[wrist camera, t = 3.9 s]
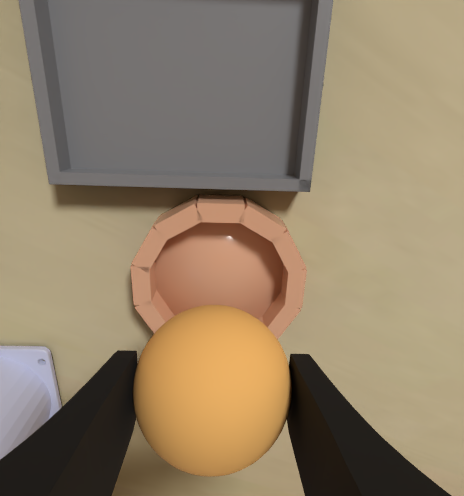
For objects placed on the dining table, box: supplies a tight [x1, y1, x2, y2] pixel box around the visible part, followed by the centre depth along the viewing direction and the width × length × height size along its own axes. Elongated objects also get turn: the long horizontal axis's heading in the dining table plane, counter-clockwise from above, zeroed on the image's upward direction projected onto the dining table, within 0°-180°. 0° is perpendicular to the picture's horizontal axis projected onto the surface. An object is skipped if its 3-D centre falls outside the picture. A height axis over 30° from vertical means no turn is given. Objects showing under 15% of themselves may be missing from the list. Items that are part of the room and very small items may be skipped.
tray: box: [19, 0, 333, 192], centre depth 16 cm, size 10×13×2 cm
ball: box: [133, 305, 292, 476], centre depth 11 cm, size 5×5×5 cm
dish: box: [131, 195, 307, 340], centre depth 19 cm, size 10×10×2 cm
